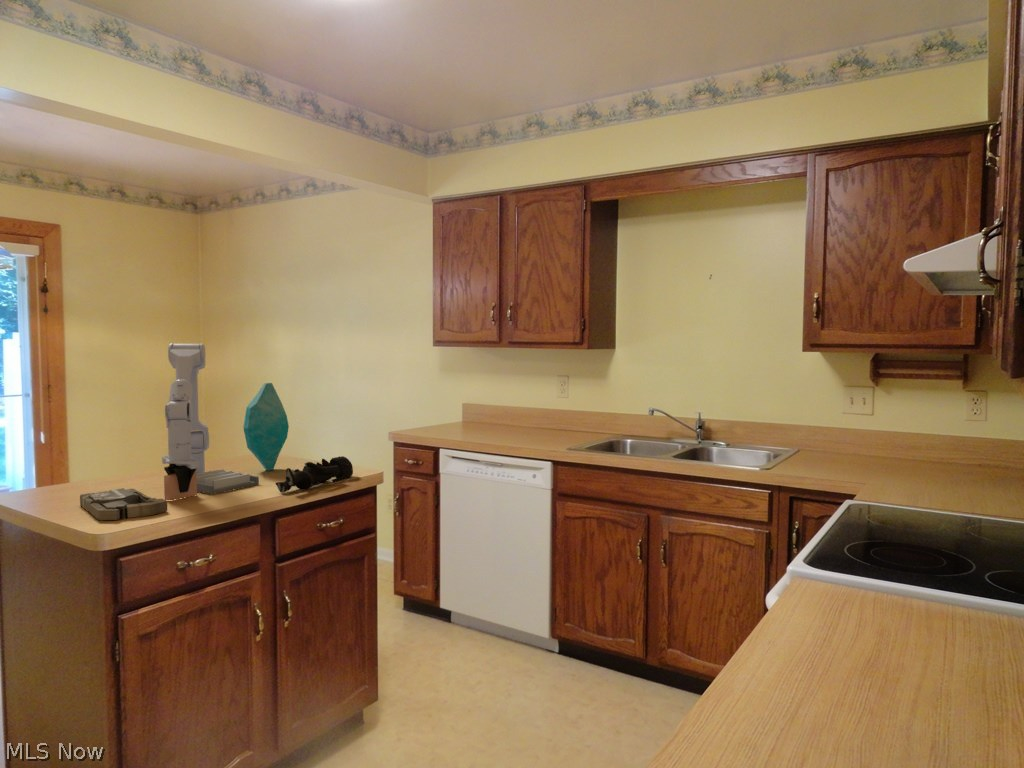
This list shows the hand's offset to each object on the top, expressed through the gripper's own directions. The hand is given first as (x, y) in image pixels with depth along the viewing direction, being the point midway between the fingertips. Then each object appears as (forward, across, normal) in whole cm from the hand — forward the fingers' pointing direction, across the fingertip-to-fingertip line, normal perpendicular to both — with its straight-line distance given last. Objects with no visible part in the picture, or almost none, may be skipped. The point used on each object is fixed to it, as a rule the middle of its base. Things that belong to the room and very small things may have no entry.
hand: (180, 491), depth 183 cm
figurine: (+2, +18, +34) cm, 39 cm away
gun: (+3, -1, -15) cm, 15 cm away
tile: (+2, 0, 0) cm, 2 cm away
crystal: (+2, -13, +39) cm, 41 cm away
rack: (+2, -5, +15) cm, 16 cm away
